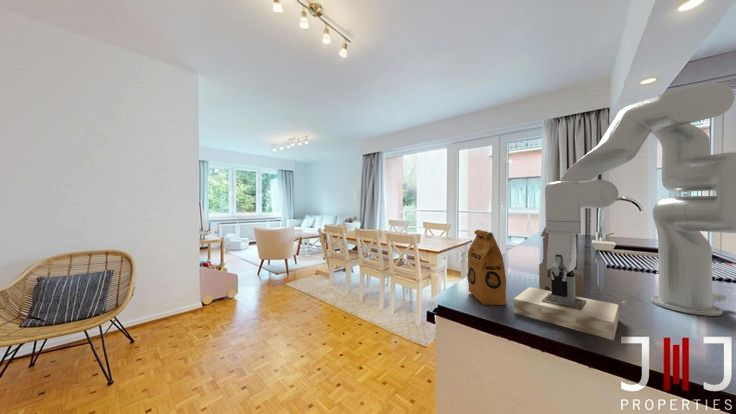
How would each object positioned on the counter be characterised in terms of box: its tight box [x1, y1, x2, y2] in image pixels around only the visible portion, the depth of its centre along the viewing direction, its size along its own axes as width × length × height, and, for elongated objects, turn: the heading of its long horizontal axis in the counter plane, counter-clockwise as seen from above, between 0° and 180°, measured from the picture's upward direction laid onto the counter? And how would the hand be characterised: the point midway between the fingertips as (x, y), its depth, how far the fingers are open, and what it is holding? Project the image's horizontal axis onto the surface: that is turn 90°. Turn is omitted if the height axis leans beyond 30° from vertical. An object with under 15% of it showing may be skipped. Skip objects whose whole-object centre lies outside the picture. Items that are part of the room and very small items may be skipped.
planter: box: [554, 273, 576, 307], centre depth 67 cm, size 4×4×10 cm
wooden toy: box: [538, 225, 584, 298], centre depth 82 cm, size 16×7×25 cm, turn 167°
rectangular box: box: [513, 286, 620, 341], centre depth 67 cm, size 20×14×4 cm
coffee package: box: [466, 229, 507, 306], centre depth 81 cm, size 10×12×22 cm
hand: (563, 291), depth 67 cm, fingers open, 9 cm apart
